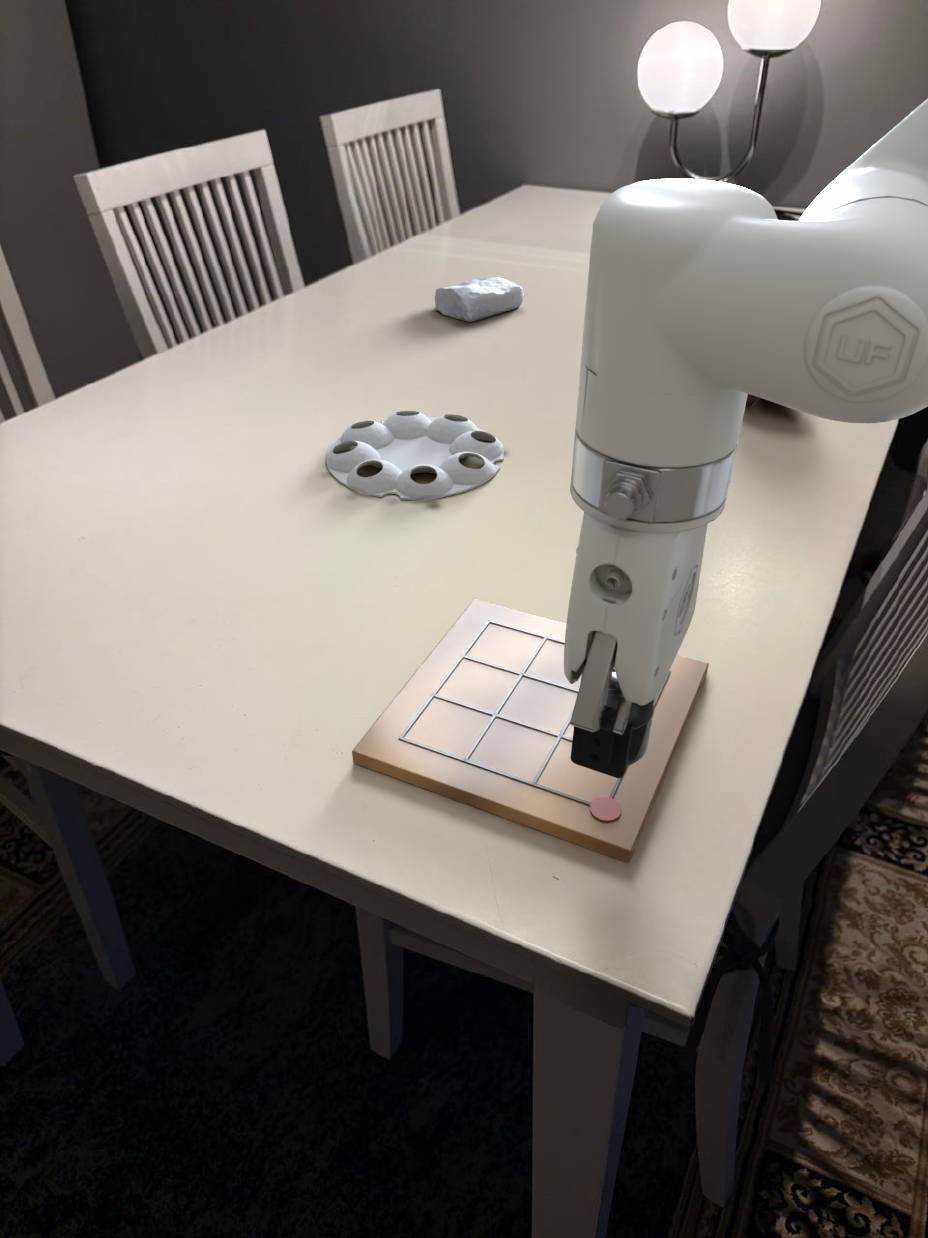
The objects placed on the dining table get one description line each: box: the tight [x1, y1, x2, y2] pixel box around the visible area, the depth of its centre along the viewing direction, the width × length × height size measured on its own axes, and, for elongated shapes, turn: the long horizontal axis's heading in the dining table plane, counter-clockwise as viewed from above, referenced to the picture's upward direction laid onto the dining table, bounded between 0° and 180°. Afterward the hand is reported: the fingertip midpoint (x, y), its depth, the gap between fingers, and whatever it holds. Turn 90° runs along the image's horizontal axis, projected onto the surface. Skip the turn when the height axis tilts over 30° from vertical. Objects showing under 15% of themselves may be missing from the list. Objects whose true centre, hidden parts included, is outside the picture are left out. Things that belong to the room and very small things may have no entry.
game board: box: [351, 598, 710, 864], centre depth 67 cm, size 20×20×1 cm
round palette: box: [325, 410, 505, 501], centre depth 100 cm, size 20×20×2 cm
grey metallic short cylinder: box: [604, 691, 654, 766], centre depth 54 cm, size 4×4×3 cm
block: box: [434, 276, 525, 323], centre depth 139 cm, size 12×5×10 cm
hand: (611, 737), depth 55 cm, fingers closed on grey metallic short cylinder, 4 cm apart
